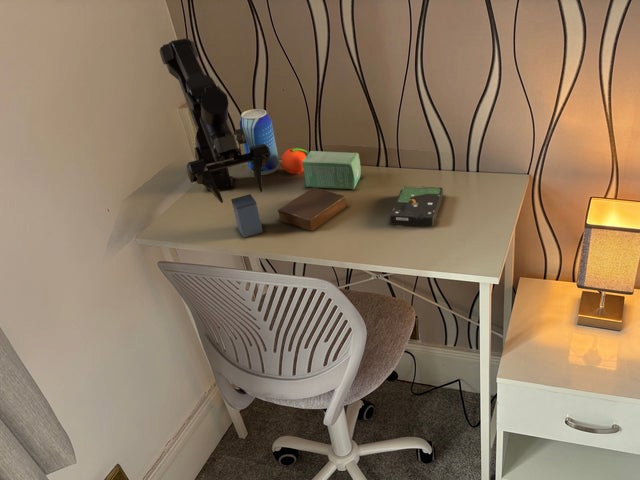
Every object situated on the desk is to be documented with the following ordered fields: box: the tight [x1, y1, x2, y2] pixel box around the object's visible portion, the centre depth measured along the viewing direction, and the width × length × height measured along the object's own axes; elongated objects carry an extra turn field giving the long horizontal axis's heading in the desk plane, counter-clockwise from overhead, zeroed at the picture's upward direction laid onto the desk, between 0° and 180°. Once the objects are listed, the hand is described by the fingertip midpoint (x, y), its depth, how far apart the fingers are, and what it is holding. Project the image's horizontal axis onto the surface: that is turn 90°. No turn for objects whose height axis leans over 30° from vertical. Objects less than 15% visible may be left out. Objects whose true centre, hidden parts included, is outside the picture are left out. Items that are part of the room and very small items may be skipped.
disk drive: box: [389, 185, 444, 227], centre depth 149 cm, size 10×3×15 cm
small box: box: [230, 194, 263, 239], centre depth 144 cm, size 5×5×8 cm
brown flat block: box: [277, 187, 347, 232], centre depth 150 cm, size 10×13×3 cm
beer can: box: [239, 108, 280, 176], centre depth 168 cm, size 8×8×16 cm
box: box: [302, 150, 362, 190], centre depth 162 cm, size 7×14×8 cm, turn 79°
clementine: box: [281, 147, 309, 175], centre depth 168 cm, size 8×7×7 cm
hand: (242, 196), depth 142 cm, fingers open, 9 cm apart
